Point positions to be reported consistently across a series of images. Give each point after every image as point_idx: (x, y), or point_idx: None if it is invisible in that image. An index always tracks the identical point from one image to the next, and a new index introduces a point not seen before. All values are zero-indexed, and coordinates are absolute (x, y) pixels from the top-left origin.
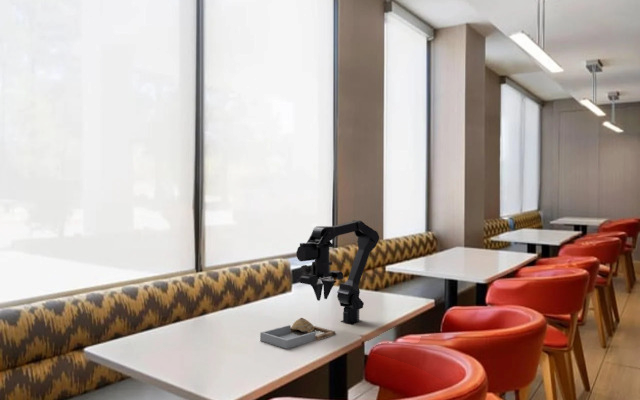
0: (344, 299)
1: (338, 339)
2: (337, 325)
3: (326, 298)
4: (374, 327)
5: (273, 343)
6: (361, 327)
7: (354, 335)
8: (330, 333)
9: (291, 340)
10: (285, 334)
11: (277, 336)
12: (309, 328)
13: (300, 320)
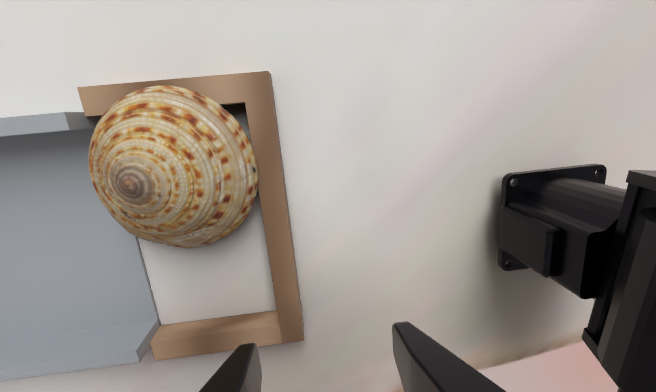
0: (632, 342)
1: (273, 374)
2: (464, 178)
3: (398, 364)
4: (560, 327)
5: None
6: (519, 290)
7: (381, 368)
8: (261, 344)
9: None
10: (54, 137)
11: None
12: (181, 245)
13: (116, 194)
